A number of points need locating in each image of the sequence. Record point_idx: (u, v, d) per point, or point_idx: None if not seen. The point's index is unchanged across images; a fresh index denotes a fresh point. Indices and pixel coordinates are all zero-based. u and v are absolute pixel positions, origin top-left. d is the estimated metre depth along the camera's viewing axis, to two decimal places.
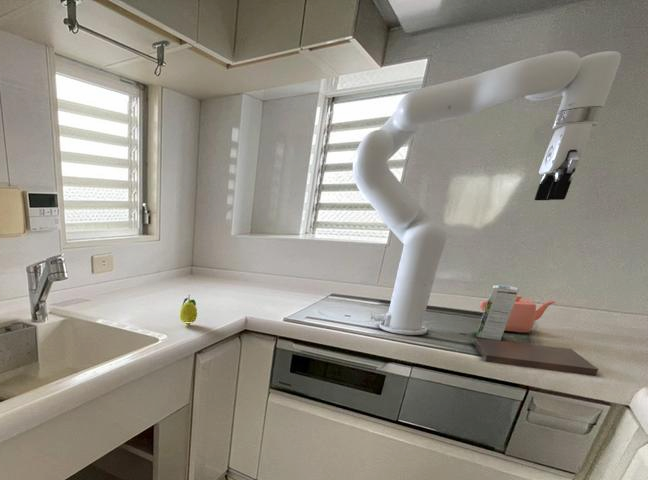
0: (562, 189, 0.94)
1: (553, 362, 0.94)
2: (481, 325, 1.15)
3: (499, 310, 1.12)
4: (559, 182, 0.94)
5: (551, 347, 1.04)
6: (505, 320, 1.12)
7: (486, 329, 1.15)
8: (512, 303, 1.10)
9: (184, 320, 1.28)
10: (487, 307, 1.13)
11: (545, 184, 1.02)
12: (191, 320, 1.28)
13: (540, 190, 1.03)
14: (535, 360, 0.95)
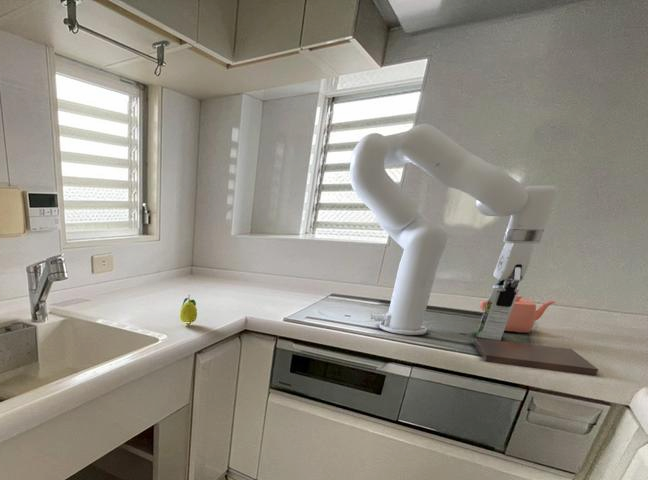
0: (508, 299, 1.09)
1: (553, 362, 0.94)
2: (481, 325, 1.15)
3: (499, 310, 1.12)
4: (505, 293, 1.09)
5: (551, 347, 1.04)
6: (505, 320, 1.12)
7: (486, 329, 1.15)
8: (512, 303, 1.10)
9: (184, 320, 1.28)
10: (487, 307, 1.13)
11: None
12: (191, 320, 1.28)
13: None
14: (535, 360, 0.95)
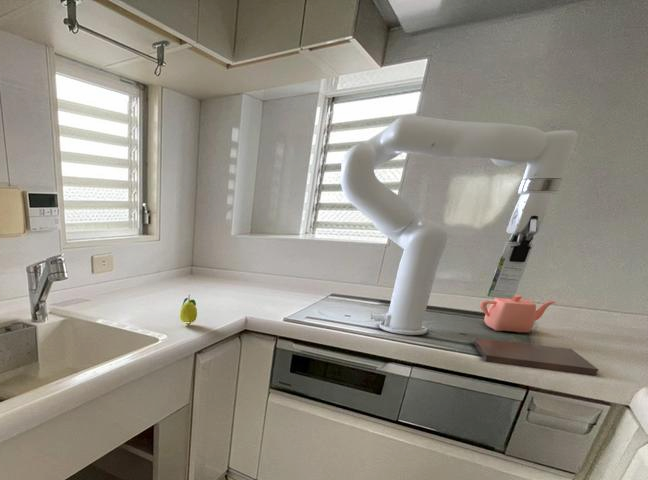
0: (522, 253, 1.04)
1: (553, 362, 0.94)
2: (493, 283, 1.11)
3: (512, 266, 1.07)
4: (519, 247, 1.04)
5: (551, 347, 1.04)
6: (518, 277, 1.07)
7: (498, 287, 1.10)
8: (526, 258, 1.05)
9: (184, 320, 1.28)
10: (500, 264, 1.09)
11: None
12: (191, 320, 1.28)
13: None
14: (535, 360, 0.95)
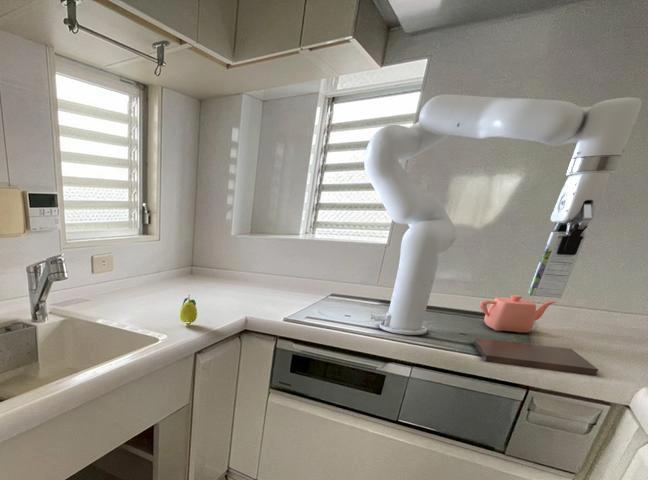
0: (573, 244, 0.89)
1: (553, 362, 0.94)
2: (536, 280, 0.96)
3: (560, 260, 0.92)
4: (570, 237, 0.89)
5: (551, 347, 1.04)
6: (567, 272, 0.92)
7: (543, 285, 0.95)
8: (577, 250, 0.90)
9: (184, 320, 1.28)
10: (545, 257, 0.94)
11: None
12: (191, 320, 1.28)
13: None
14: (535, 360, 0.95)
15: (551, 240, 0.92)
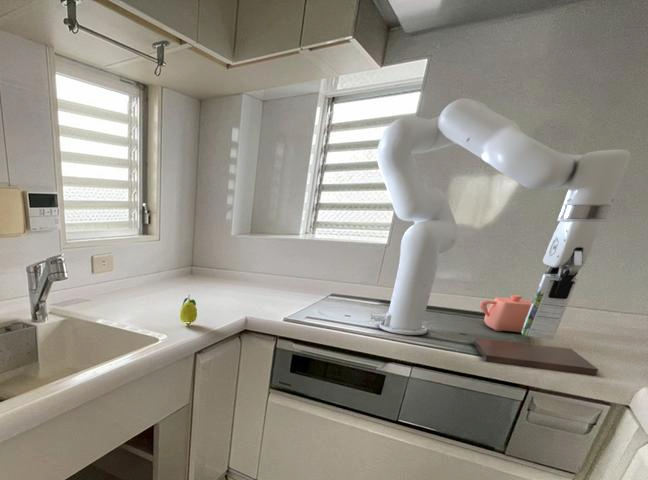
0: (564, 289, 0.91)
1: (553, 362, 0.94)
2: (529, 321, 0.97)
3: (552, 303, 0.94)
4: (561, 282, 0.90)
5: (551, 347, 1.04)
6: (559, 315, 0.93)
7: (535, 326, 0.97)
8: (569, 295, 0.91)
9: (184, 320, 1.28)
10: (537, 300, 0.95)
11: None
12: (191, 320, 1.28)
13: None
14: (535, 360, 0.95)
15: (543, 283, 0.93)
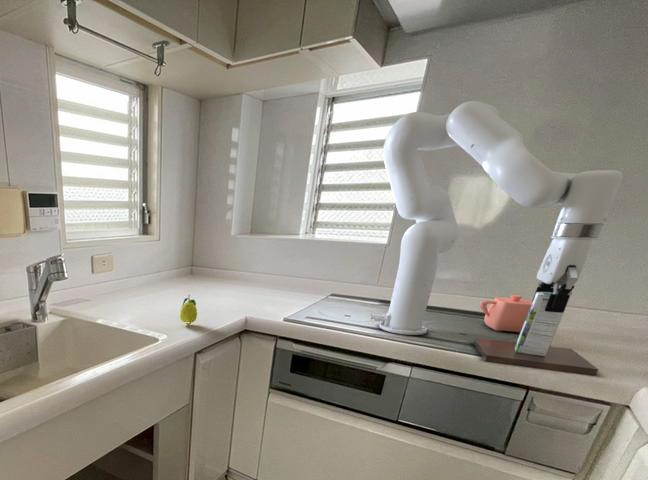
0: (560, 303, 0.91)
1: (553, 362, 0.94)
2: (522, 338, 0.99)
3: (544, 321, 0.95)
4: (557, 296, 0.91)
5: (551, 347, 1.04)
6: (551, 333, 0.95)
7: (528, 343, 0.98)
8: (561, 313, 0.93)
9: (184, 320, 1.28)
10: (530, 317, 0.97)
11: (543, 288, 0.99)
12: (191, 320, 1.28)
13: None
14: (535, 360, 0.95)
15: (536, 302, 0.95)
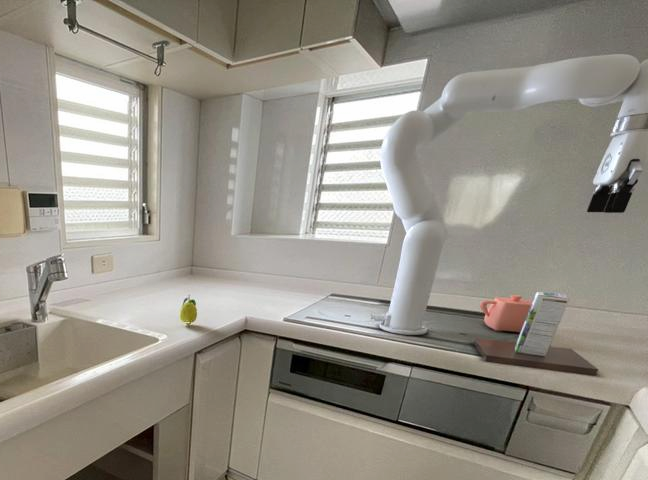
0: (622, 201, 0.87)
1: (553, 362, 0.94)
2: (522, 338, 0.99)
3: (544, 321, 0.95)
4: (618, 194, 0.87)
5: (551, 347, 1.04)
6: (551, 333, 0.95)
7: (528, 343, 0.98)
8: (561, 313, 0.93)
9: (184, 320, 1.28)
10: (530, 317, 0.97)
11: (599, 195, 0.95)
12: (191, 320, 1.28)
13: (594, 201, 0.96)
14: (535, 360, 0.95)
15: (536, 302, 0.95)
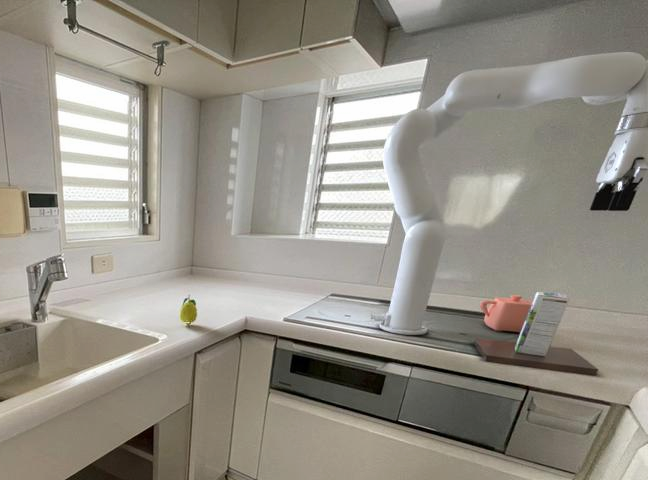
0: (626, 200, 0.87)
1: (553, 362, 0.94)
2: (522, 338, 0.99)
3: (544, 321, 0.95)
4: (623, 192, 0.87)
5: (551, 347, 1.04)
6: (551, 333, 0.95)
7: (528, 343, 0.98)
8: (561, 313, 0.93)
9: (184, 320, 1.28)
10: (530, 317, 0.97)
11: (602, 193, 0.95)
12: (191, 320, 1.28)
13: (597, 200, 0.96)
14: (535, 360, 0.95)
15: (536, 302, 0.95)
